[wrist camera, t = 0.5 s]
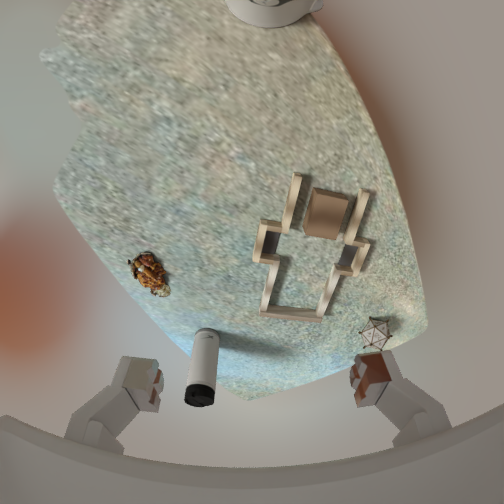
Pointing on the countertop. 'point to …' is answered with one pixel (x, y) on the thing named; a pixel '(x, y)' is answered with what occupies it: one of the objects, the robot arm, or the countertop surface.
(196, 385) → the travel mug
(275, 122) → the countertop surface
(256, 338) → the countertop surface
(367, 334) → the game die
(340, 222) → the walnut block
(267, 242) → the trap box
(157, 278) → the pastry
